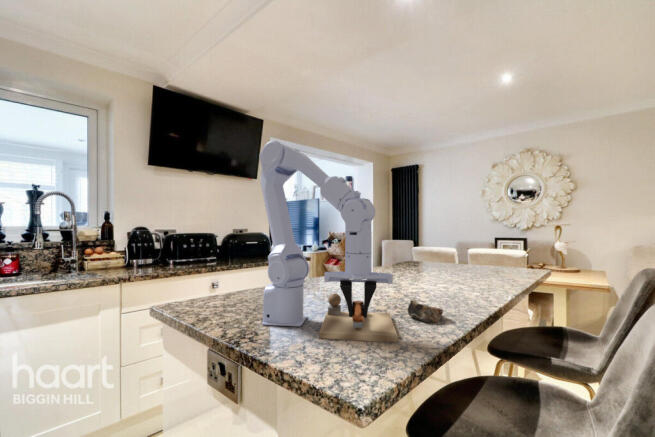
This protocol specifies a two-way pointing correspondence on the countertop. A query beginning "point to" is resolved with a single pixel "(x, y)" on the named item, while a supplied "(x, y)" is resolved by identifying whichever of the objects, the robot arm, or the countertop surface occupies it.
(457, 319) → the countertop surface
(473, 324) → the countertop surface
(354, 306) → the lever
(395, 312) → the countertop surface
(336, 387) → the countertop surface
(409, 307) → the rock
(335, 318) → the base
